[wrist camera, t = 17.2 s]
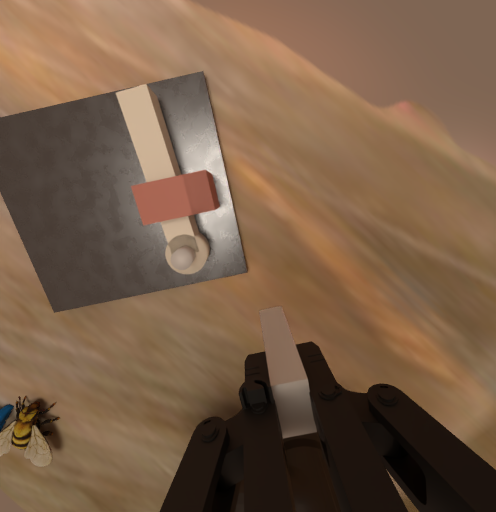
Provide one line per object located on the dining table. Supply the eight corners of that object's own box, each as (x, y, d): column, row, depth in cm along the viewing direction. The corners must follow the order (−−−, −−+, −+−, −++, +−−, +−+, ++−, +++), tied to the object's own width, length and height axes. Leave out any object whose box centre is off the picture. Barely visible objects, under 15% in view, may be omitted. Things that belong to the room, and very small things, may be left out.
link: (214, 261, 40) (209, 275, 34) (179, 270, 41) (167, 285, 34) (163, 94, 34) (144, 69, 27) (122, 106, 34) (93, 84, 28)
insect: (76, 394, 49) (58, 416, 44) (62, 448, 52) (43, 474, 47) (17, 377, 47) (-9, 398, 42) (5, 434, 50) (-19, 460, 46)
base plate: (247, 269, 43) (247, 272, 41) (60, 308, 44) (54, 312, 42) (204, 76, 36) (203, 71, 34) (-19, 127, 36) (-30, 124, 35)
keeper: (220, 207, 39) (215, 210, 31) (161, 219, 39) (143, 225, 32) (212, 174, 37) (205, 169, 30) (152, 187, 38) (130, 185, 30)
